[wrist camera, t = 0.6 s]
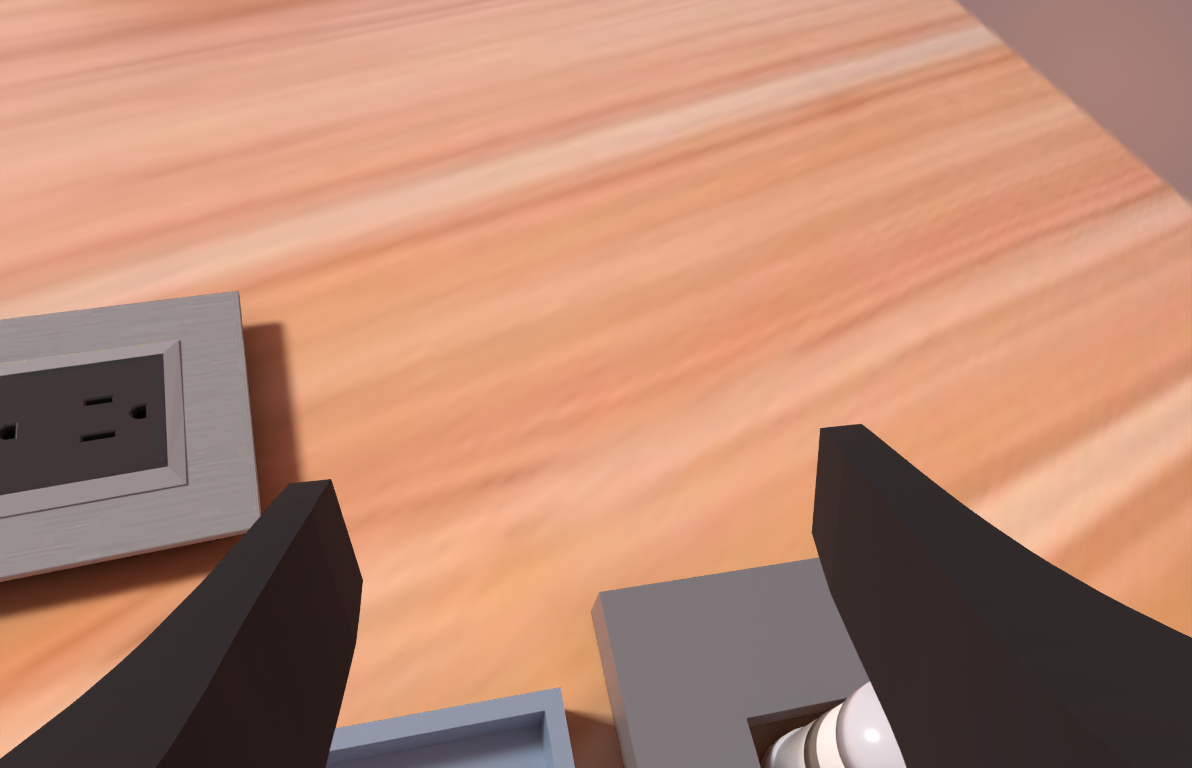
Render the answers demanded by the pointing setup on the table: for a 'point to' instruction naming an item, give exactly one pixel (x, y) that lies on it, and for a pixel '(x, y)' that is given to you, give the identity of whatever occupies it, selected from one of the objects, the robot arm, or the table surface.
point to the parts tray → (463, 737)
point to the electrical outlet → (123, 432)
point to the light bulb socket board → (721, 662)
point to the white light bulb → (840, 738)
